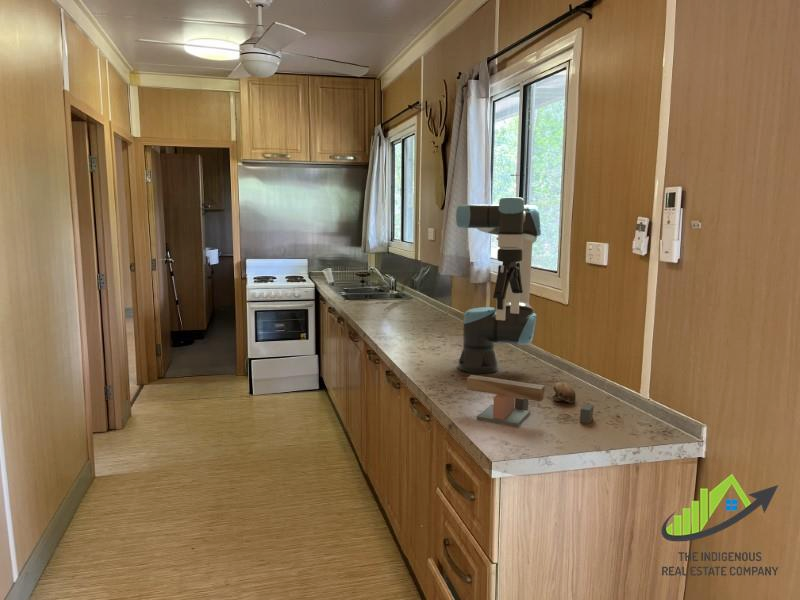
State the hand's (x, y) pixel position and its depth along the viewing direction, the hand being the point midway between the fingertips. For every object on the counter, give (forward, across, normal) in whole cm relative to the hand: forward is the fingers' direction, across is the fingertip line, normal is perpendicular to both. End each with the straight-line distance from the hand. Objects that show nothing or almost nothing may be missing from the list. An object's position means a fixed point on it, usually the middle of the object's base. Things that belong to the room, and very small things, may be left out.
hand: (507, 316), depth 176 cm
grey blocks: (+27, +7, +17) cm, 32 cm away
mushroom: (+27, -7, +17) cm, 33 cm away
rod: (+20, +16, +5) cm, 26 cm away
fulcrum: (+27, +16, +5) cm, 32 cm away
